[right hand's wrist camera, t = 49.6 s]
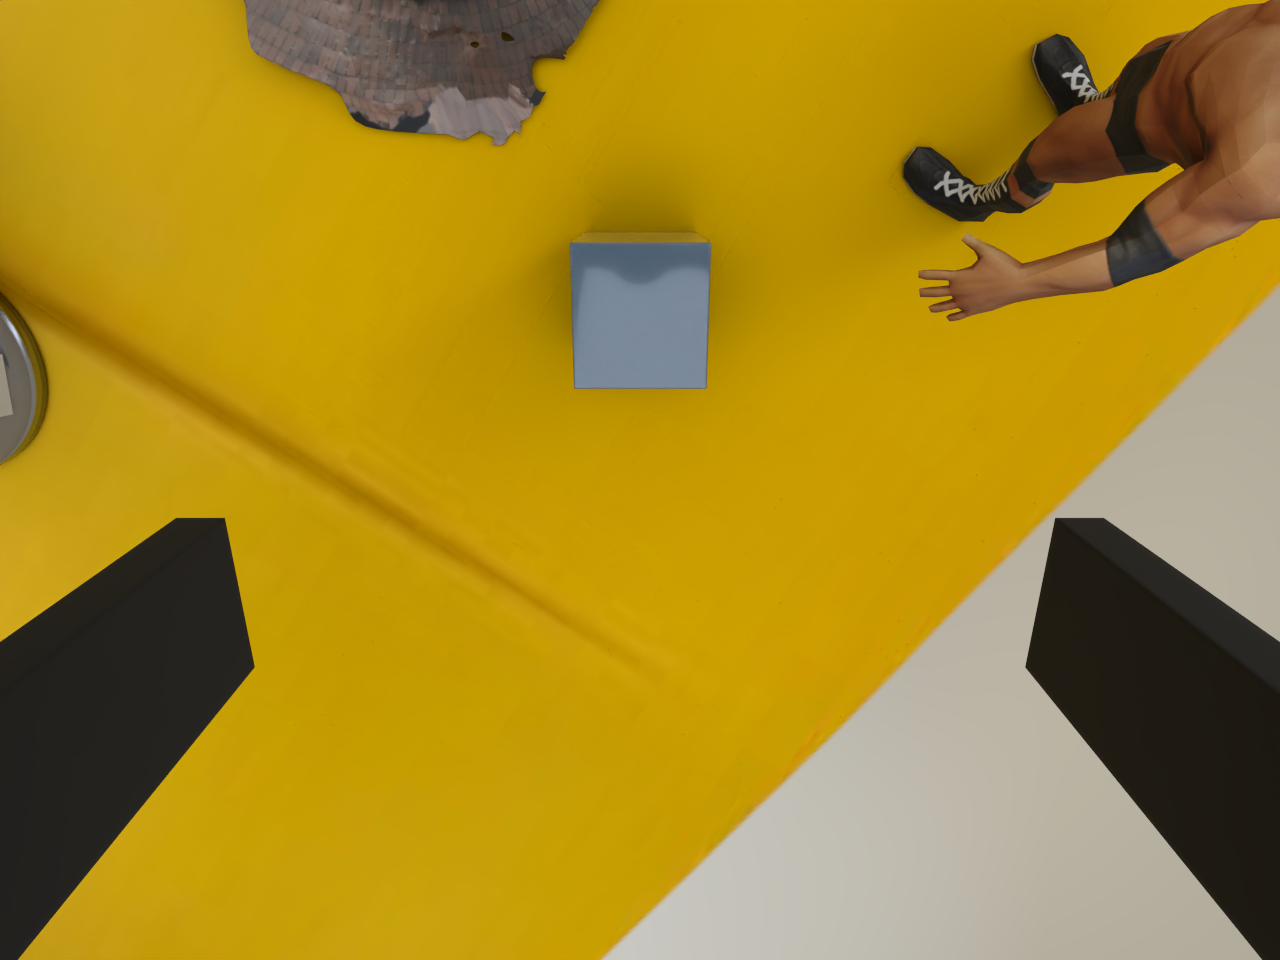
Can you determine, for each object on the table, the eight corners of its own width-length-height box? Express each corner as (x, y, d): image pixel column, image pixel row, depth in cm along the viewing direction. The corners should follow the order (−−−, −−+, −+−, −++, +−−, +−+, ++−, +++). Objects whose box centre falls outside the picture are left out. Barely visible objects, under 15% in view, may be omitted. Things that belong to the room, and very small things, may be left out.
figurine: (1155, -66, 44) (2084, -529, 16) (1208, 30, 45) (2134, -231, 17) (807, 233, 49) (1030, 289, 21) (865, 309, 51) (1143, 455, 23)
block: (693, 351, 52) (706, 389, 42) (586, 351, 52) (574, 389, 42) (696, 232, 49) (711, 242, 40) (583, 232, 49) (569, 242, 40)
